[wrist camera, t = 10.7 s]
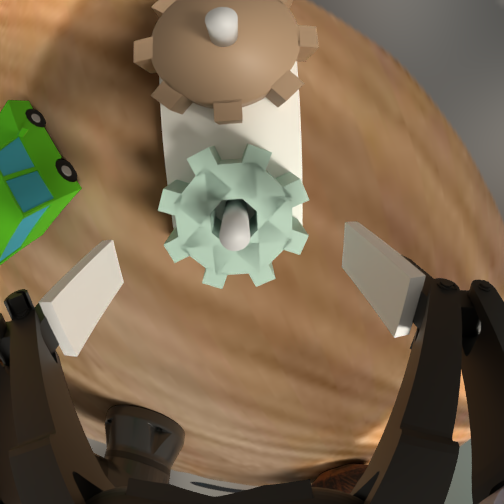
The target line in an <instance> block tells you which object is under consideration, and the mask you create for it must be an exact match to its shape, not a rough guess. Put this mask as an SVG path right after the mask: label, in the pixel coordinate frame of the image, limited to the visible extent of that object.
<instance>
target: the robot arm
mask: <svg viewBox="0 0 504 504" xmlns="http://www.w3.org/2000/svg"><path fill="white" fill-rule="evenodd" d="M342 268H343V269H344V270H345V272H346V273H347V274H348V275H349V277H350V278H351V279H352V281H353V282H354V283H355V285H356V286H357V287H358V289H359V290H360V291H361V292H362V294H363V295H364V297H365V298H366V299H367V301H368V302H369V303H370V305H371V306H372V307H373V309H374V310H375V311H376V313H377V314H378V316H379V317H380V318H381V320H382V321H383V323H384V324H385V325H386V327H387V328H388V330H389V331H390V333H391V334H392V335H393V337H394V338H396V337H400V336H404V335H408V334H409V332H410V329H411V326H412V323H414V324H415V325H416V326H417V331H416V334H415V336H414V339H413V342H412V344H411V347H410V349H411V353H410V357H409V361H408V364H407V368H406V371H405V375H404V378H403V381H402V384H401V387H400V390H399V393H398V396H397V399H396V402H395V405H394V407H393V410H392V413H391V415H390V418H389V421H388V423H387V425H386V428H385V430H384V433H383V435H382V437H381V440H380V442H379V444H378V446H377V448H376V450H375V453H374V455H373V457H372V459H371V461H370V463H369V465H368V467H367V468H366V470H365V472H364V474H363V475H362V477H361V478H360V479H359V481H358V482H357V484H356V485H355V487H354V488H353V490H352V492H351V493H350V494H348V493H345V492H342V491H338V490H333V489H328V488H320V487H311V483H310V479H309V480H303V481H296V482H290V483H282V484H273V485H263V486H260V487H256V488H253V489H249V490H245V491H241V492H237V493H233V494H229V495H224V496H218V497H212V496H208V495H204V494H200V493H196V492H193V491H189V490H186V489H183V488H179V487H176V486H173V485H170V484H169V479H170V471H171V467H172V465H173V463H174V461H175V460H176V458H177V456H178V454H179V452H180V451H181V449H182V447H183V444H184V438H185V433H184V430H183V429H182V428H181V427H180V426H179V425H178V424H177V423H176V422H174V421H173V420H171V419H169V418H167V417H165V416H163V415H161V414H159V413H156V412H154V411H151V410H148V409H144V408H140V407H135V406H128V405H118V406H114V407H111V408H110V409H109V410H108V413H107V416H106V419H105V431H106V445H107V449H106V453H105V457H104V458H103V457H101V456H99V455H97V454H95V453H93V451H92V449H91V446H90V444H89V442H88V440H87V438H86V435H85V433H84V431H83V428H82V426H81V423H80V421H79V418H78V416H77V413H76V411H75V408H74V405H73V402H72V399H71V396H70V393H69V390H68V387H67V384H66V381H65V377H64V374H63V370H62V367H61V363H60V359H59V356H58V354H57V352H56V351H55V350H56V348H57V347H58V345H59V346H60V348H61V349H62V351H63V353H64V355H68V356H75V357H77V356H78V354H79V353H80V351H81V349H82V348H83V346H84V344H85V342H86V341H87V339H88V337H89V336H90V334H91V332H92V331H93V329H94V327H95V326H96V324H97V323H98V321H99V319H100V318H101V316H102V315H103V313H104V311H105V310H106V308H107V307H108V305H109V304H110V302H111V301H112V299H113V298H114V296H115V295H116V293H117V292H118V290H119V289H120V287H121V286H122V284H123V283H124V281H123V278H122V274H121V270H120V267H119V263H118V259H117V255H116V251H115V246H114V242H113V240H105V241H101V242H100V243H99V244H98V245H97V246H96V247H95V248H93V249H92V250H91V251H90V252H89V253H88V254H87V255H86V256H85V257H83V258H82V259H81V260H80V261H79V262H78V263H77V264H76V265H75V266H74V267H73V268H72V269H71V270H70V271H69V272H68V273H67V274H65V275H64V276H63V277H62V278H61V279H60V280H59V281H58V282H57V283H56V284H55V285H54V286H53V287H52V288H51V289H50V290H49V292H48V293H47V294H46V295H45V296H44V297H43V298H42V299H41V300H40V301H39V303H38V304H37V305H36V307H35V308H34V306H33V304H32V301H31V299H30V296H29V294H28V291H27V290H25V289H22V290H18V291H15V292H14V293H12V294H10V295H9V296H8V297H7V298H6V299H5V301H4V304H5V306H6V308H7V310H8V312H9V315H10V317H11V319H12V321H9V322H5V320H4V318H3V316H2V314H1V313H0V359H1V360H2V362H3V364H2V365H1V363H0V504H444V502H445V499H446V496H447V493H448V490H449V487H450V484H451V481H452V477H453V474H454V470H455V466H456V463H457V459H458V454H459V444H458V442H455V441H453V440H452V434H453V429H454V424H455V418H456V412H457V405H458V397H459V388H460V377H461V370H462V375H463V380H464V385H465V391H466V397H467V404H468V412H469V420H470V431H471V446H472V498H473V504H504V302H503V300H502V298H501V297H500V295H499V293H498V292H497V290H496V289H495V288H494V286H493V285H491V284H490V283H489V282H487V281H485V280H474V281H473V282H472V283H471V287H470V290H469V291H466V290H460V289H459V287H458V286H457V285H456V284H455V283H454V282H452V281H450V280H447V279H443V278H437V279H433V278H432V277H431V276H430V275H429V274H428V273H426V272H425V271H424V270H423V269H421V268H420V267H419V266H418V265H416V263H414V262H413V261H412V260H411V259H409V258H407V257H405V256H402V255H400V254H399V253H398V252H397V251H395V250H394V249H393V248H391V247H390V246H389V245H388V244H386V243H385V242H384V241H383V240H381V239H380V238H379V237H377V236H376V235H375V234H373V233H372V232H371V231H369V230H368V229H367V228H365V227H364V226H363V225H361V224H360V223H359V222H345V233H344V247H343V259H342Z"/></svg>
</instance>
